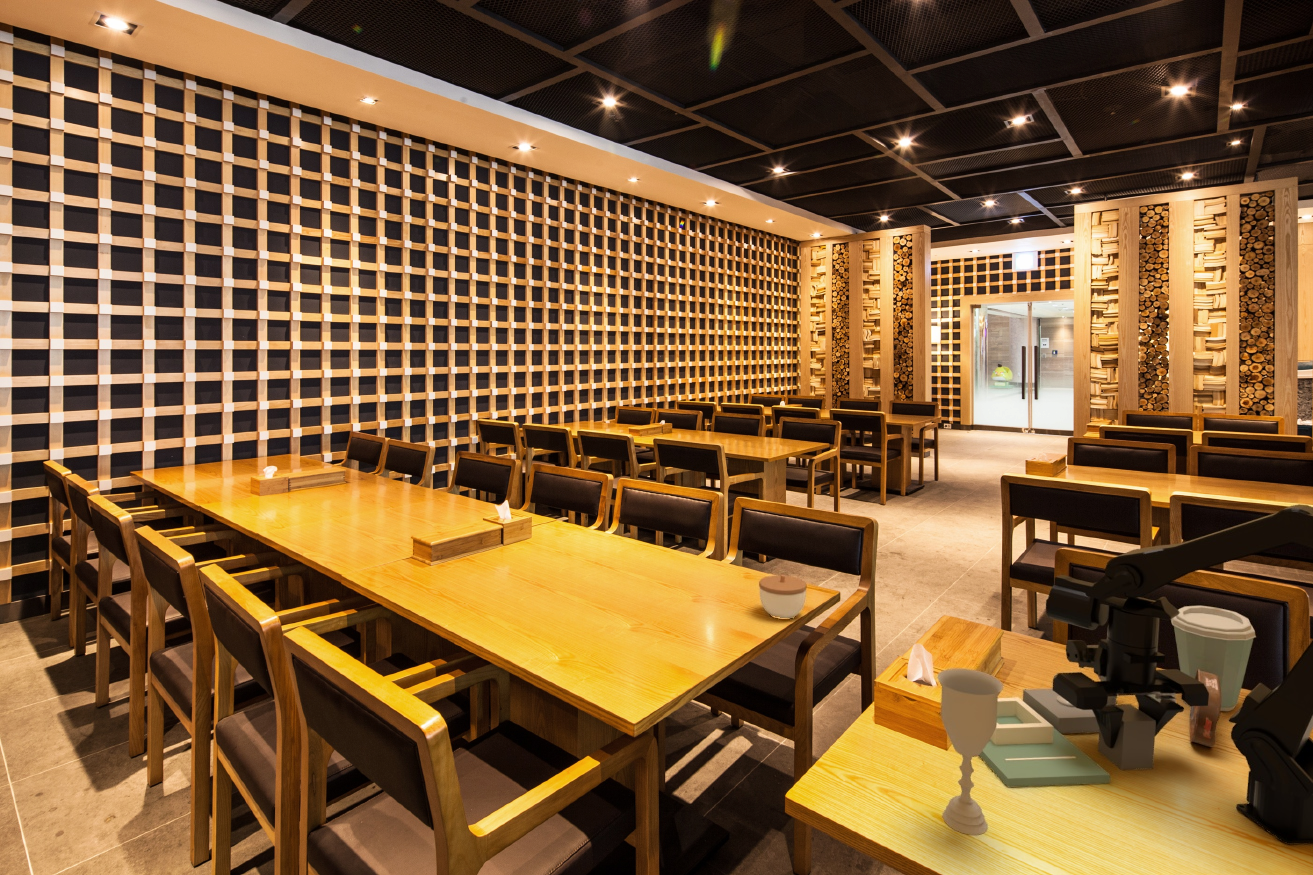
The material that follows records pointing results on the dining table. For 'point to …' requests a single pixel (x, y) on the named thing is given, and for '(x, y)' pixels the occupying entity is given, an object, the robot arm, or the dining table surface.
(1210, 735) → the tin
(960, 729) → the chalice
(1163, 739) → the dining table surface
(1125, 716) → the plug
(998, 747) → the board
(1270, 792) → the robot arm
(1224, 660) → the disposable coffee cup
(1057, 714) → the grey domed button plate
